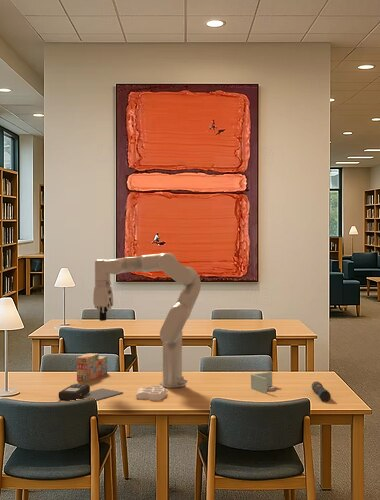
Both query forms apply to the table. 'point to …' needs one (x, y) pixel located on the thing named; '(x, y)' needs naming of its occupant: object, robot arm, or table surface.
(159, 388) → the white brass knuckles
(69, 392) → the card reader
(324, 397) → the flashlight
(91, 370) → the stack of blocks
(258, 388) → the right angle wall
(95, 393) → the mat
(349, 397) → the table surface
